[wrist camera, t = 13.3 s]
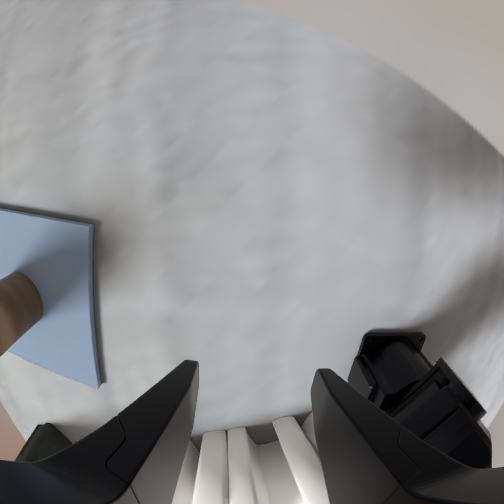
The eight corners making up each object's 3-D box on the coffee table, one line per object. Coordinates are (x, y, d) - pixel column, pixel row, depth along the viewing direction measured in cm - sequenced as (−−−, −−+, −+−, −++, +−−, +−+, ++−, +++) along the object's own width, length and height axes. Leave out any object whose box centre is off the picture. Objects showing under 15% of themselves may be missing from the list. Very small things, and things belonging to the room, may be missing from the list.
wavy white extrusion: (399, 378, 25) (445, 453, 15) (394, 457, 29) (417, 514, 19) (95, 432, 27) (65, 495, 17) (157, 495, 32) (145, 548, 21)
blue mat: (93, 224, 20) (88, 226, 19) (101, 383, 25) (98, 388, 24) (-24, 203, 19) (-29, 205, 19) (-6, 338, 24) (-10, 341, 23)
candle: (58, 448, 29) (3, 566, 5) (34, 425, 28) (-33, 543, 4) (76, 446, 28) (18, 579, 4) (50, 422, 27) (-22, 554, 3)
